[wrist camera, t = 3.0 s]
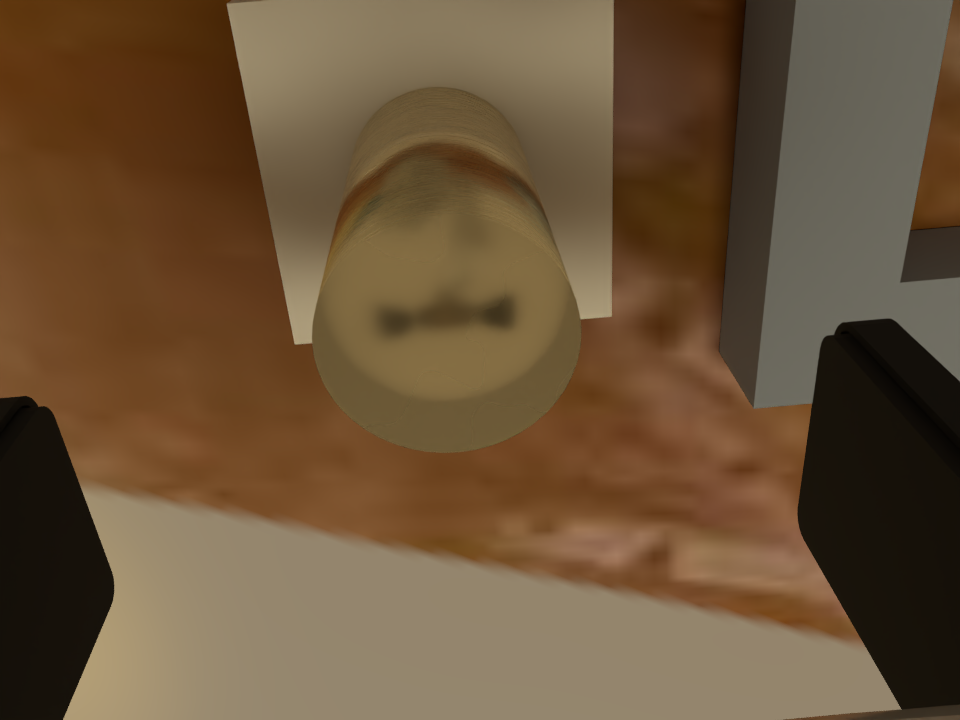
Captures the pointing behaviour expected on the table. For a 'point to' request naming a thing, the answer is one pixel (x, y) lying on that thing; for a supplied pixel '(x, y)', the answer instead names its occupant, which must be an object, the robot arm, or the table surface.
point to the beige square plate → (420, 64)
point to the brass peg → (443, 281)
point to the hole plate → (833, 189)
